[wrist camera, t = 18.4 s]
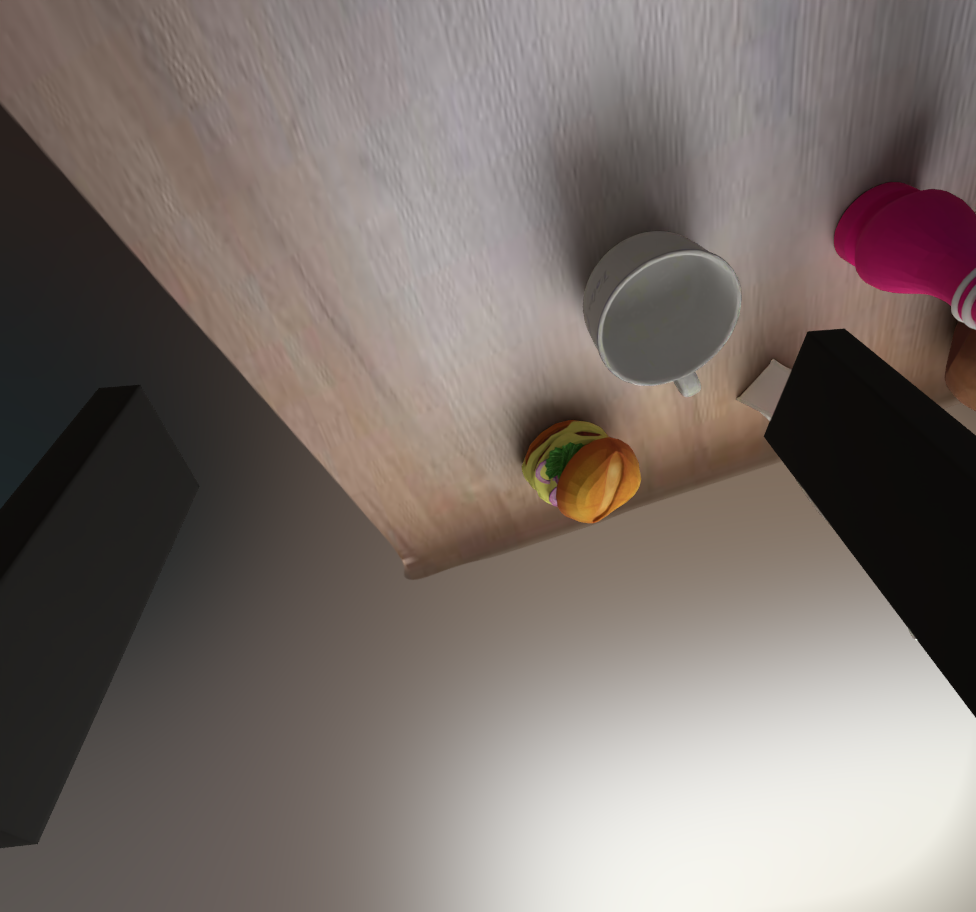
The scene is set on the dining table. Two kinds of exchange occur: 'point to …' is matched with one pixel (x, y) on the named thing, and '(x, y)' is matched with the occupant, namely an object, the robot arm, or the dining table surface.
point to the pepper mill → (913, 244)
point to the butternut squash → (962, 365)
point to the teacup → (660, 309)
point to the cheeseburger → (581, 470)
